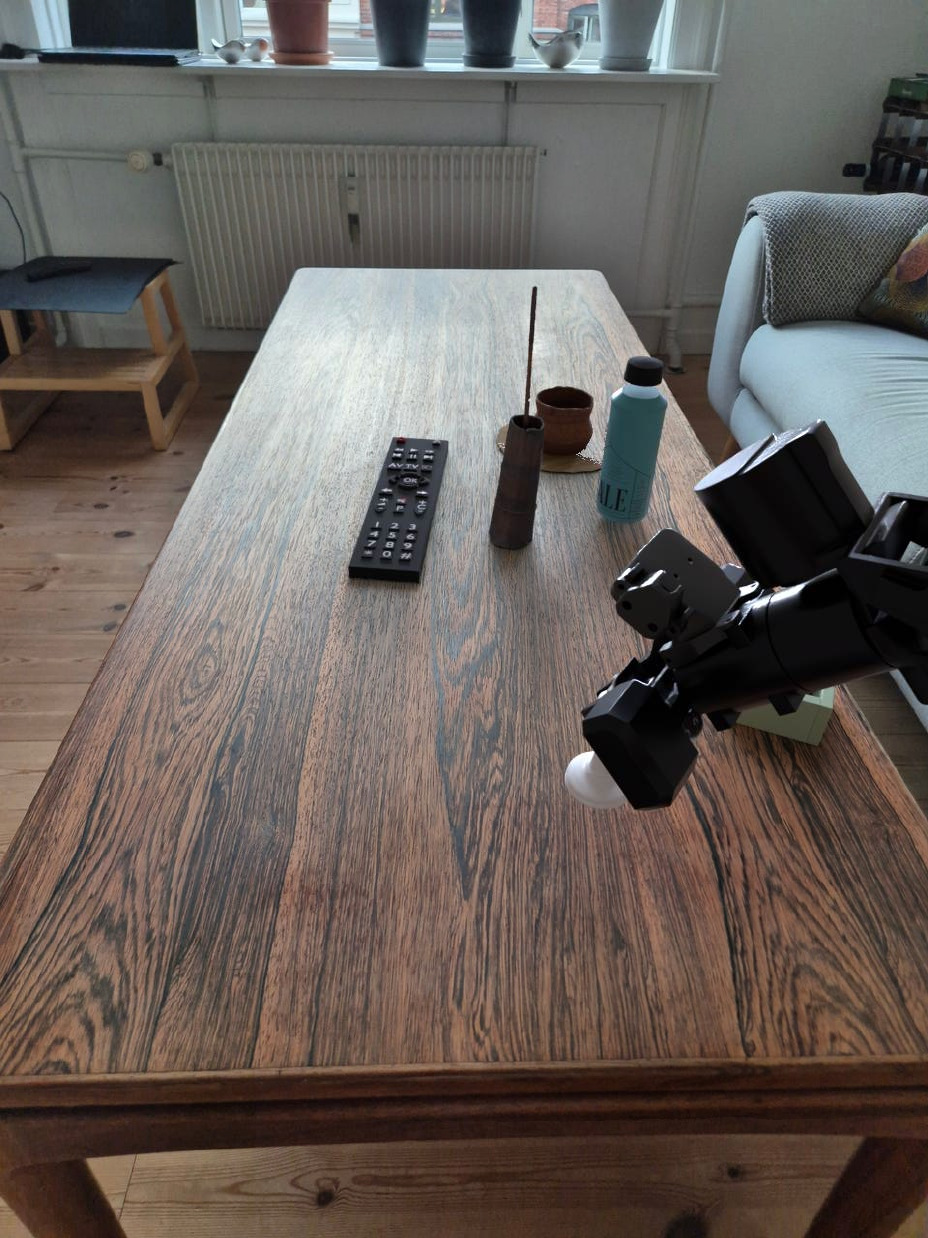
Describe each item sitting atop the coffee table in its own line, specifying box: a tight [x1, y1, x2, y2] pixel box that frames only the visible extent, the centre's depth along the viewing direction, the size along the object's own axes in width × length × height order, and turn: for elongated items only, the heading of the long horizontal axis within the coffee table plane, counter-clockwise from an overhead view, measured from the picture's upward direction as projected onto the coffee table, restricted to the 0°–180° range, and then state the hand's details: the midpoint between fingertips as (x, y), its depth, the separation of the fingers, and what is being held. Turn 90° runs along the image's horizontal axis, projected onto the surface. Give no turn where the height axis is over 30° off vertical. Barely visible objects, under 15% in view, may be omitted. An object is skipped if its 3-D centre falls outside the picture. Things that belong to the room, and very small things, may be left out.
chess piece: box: [564, 673, 629, 810], centre depth 57 cm, size 5×5×10 cm
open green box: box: [735, 686, 836, 747], centre depth 76 cm, size 8×8×4 cm
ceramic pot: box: [495, 385, 603, 474], centre depth 116 cm, size 18×18×7 cm
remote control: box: [347, 436, 449, 584], centre depth 102 cm, size 8×32×2 cm, turn 175°
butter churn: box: [488, 285, 545, 550], centre depth 89 cm, size 9×10×28 cm
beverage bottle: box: [595, 355, 669, 524], centre depth 96 cm, size 6×7×20 cm
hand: (592, 707), depth 57 cm, fingers closed on chess piece
